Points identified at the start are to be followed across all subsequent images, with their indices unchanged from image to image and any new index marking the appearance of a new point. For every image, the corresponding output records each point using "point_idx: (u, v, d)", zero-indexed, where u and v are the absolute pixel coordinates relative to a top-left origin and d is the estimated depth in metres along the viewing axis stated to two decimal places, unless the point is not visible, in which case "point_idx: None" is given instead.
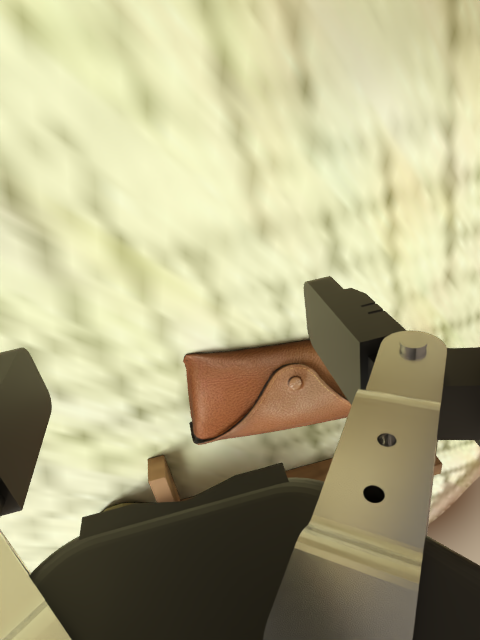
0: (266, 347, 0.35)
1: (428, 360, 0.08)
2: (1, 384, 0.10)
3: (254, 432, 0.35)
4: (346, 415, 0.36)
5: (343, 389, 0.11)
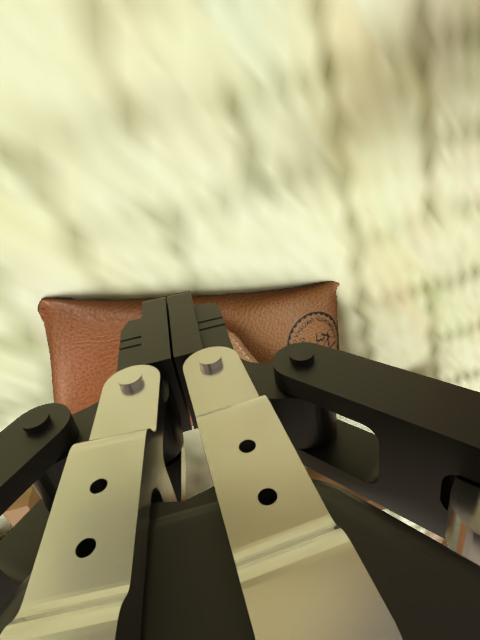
0: None
1: (215, 375, 0.08)
2: (167, 322, 0.11)
3: None
4: None
5: None
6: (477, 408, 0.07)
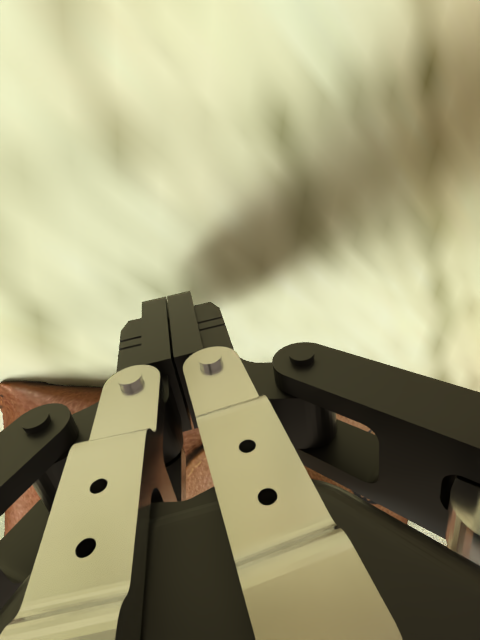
0: None
1: (215, 375, 0.08)
2: (167, 322, 0.11)
3: None
4: None
5: None
6: (477, 408, 0.07)
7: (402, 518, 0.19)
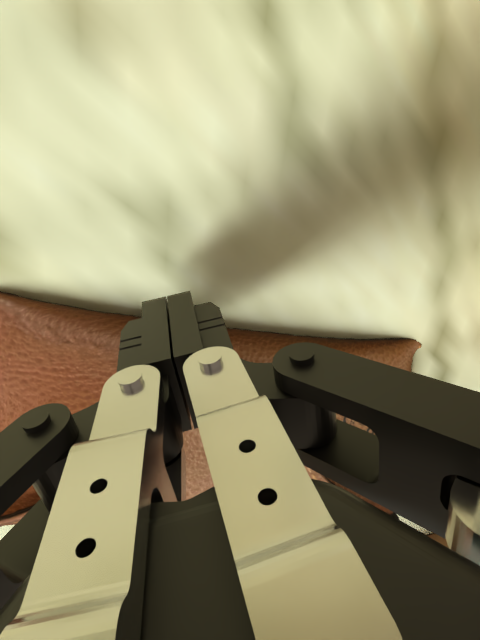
0: None
1: (215, 375, 0.08)
2: (167, 322, 0.11)
3: None
4: None
5: None
6: (477, 409, 0.07)
7: None
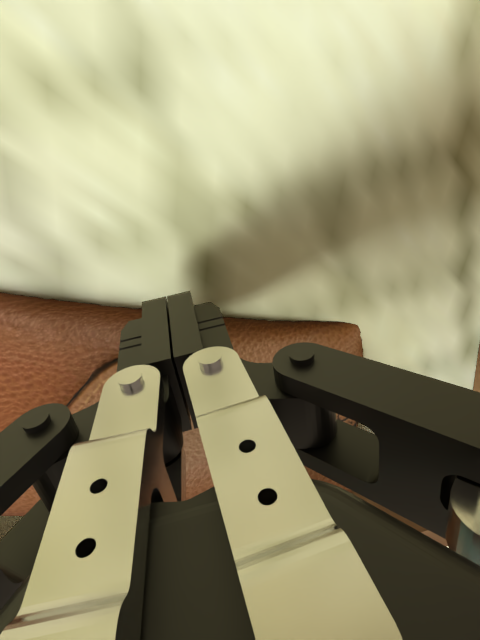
0: None
1: (215, 375, 0.08)
2: (167, 322, 0.11)
3: None
4: None
5: None
6: (477, 408, 0.07)
7: None
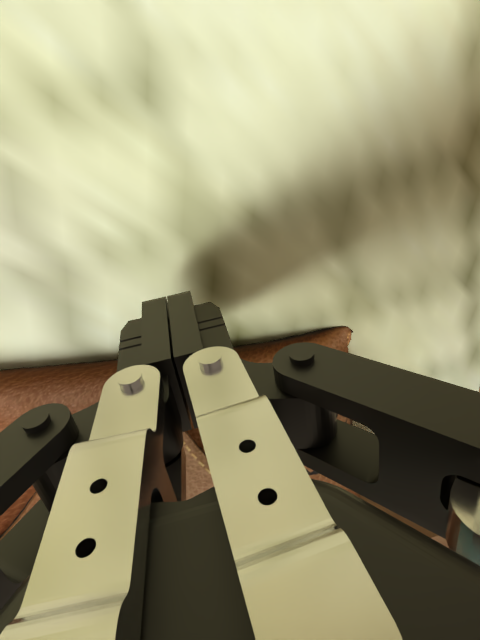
0: (73, 366, 0.14)
1: (215, 375, 0.08)
2: (167, 322, 0.11)
3: None
4: None
5: None
6: (477, 409, 0.07)
7: None
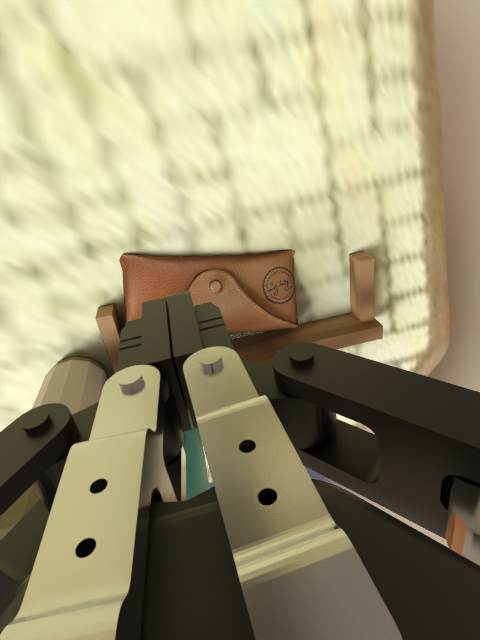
0: (194, 256, 0.40)
1: (215, 375, 0.08)
2: (167, 322, 0.11)
3: None
4: (261, 325, 0.42)
5: None
6: (477, 408, 0.07)
7: (292, 312, 0.42)
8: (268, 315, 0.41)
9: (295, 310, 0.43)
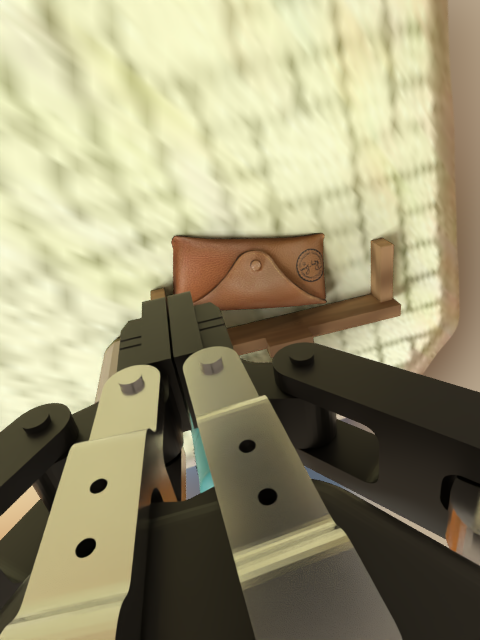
0: (236, 239, 0.45)
1: (215, 375, 0.08)
2: (167, 322, 0.11)
3: (222, 304, 0.46)
4: (294, 301, 0.47)
5: None
6: (477, 408, 0.07)
7: (321, 289, 0.48)
8: (301, 291, 0.46)
9: (324, 287, 0.48)
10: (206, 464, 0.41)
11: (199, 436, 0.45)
